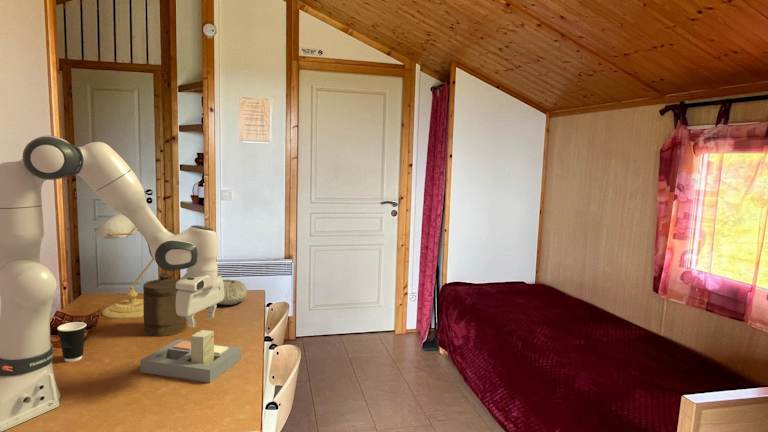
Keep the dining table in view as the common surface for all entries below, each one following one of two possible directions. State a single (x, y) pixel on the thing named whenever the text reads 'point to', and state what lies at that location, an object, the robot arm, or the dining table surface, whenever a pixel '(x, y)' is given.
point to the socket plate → (189, 362)
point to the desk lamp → (132, 307)
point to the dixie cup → (72, 340)
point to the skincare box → (202, 347)
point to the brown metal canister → (161, 307)
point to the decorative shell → (233, 292)
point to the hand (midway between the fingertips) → (201, 322)
